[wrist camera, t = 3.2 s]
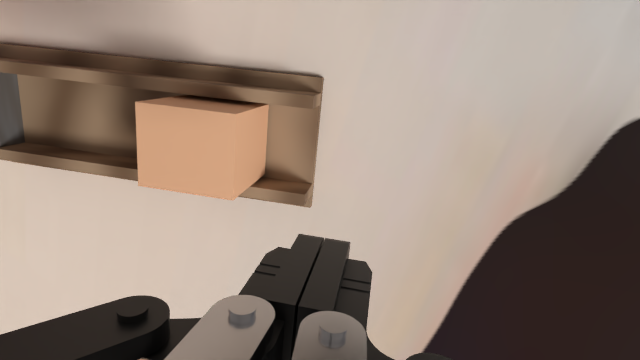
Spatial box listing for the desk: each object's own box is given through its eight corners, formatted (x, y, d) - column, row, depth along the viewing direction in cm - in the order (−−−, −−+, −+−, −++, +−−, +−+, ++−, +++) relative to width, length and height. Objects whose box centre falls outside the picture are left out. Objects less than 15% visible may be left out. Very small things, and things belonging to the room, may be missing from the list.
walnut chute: (323, 77, 27) (306, 80, 22) (311, 205, 30) (293, 235, 25) (2, 43, 31) (-78, 39, 25) (17, 160, 33) (-53, 177, 28)
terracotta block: (268, 104, 28) (236, 114, 22) (264, 174, 29) (233, 200, 23) (187, 94, 28) (135, 101, 23) (187, 162, 30) (138, 185, 24)
